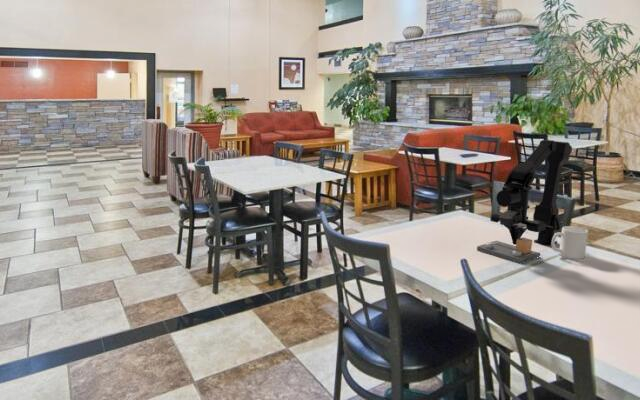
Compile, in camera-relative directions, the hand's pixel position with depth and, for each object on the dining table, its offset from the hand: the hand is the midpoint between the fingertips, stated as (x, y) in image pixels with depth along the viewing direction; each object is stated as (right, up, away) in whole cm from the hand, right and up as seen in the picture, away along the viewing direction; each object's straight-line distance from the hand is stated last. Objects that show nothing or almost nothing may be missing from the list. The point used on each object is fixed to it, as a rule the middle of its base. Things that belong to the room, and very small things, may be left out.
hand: (514, 244), depth 180 cm
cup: (+18, -4, -2) cm, 19 cm away
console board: (-2, -3, +1) cm, 4 cm away
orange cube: (+2, -3, -2) cm, 4 cm away
